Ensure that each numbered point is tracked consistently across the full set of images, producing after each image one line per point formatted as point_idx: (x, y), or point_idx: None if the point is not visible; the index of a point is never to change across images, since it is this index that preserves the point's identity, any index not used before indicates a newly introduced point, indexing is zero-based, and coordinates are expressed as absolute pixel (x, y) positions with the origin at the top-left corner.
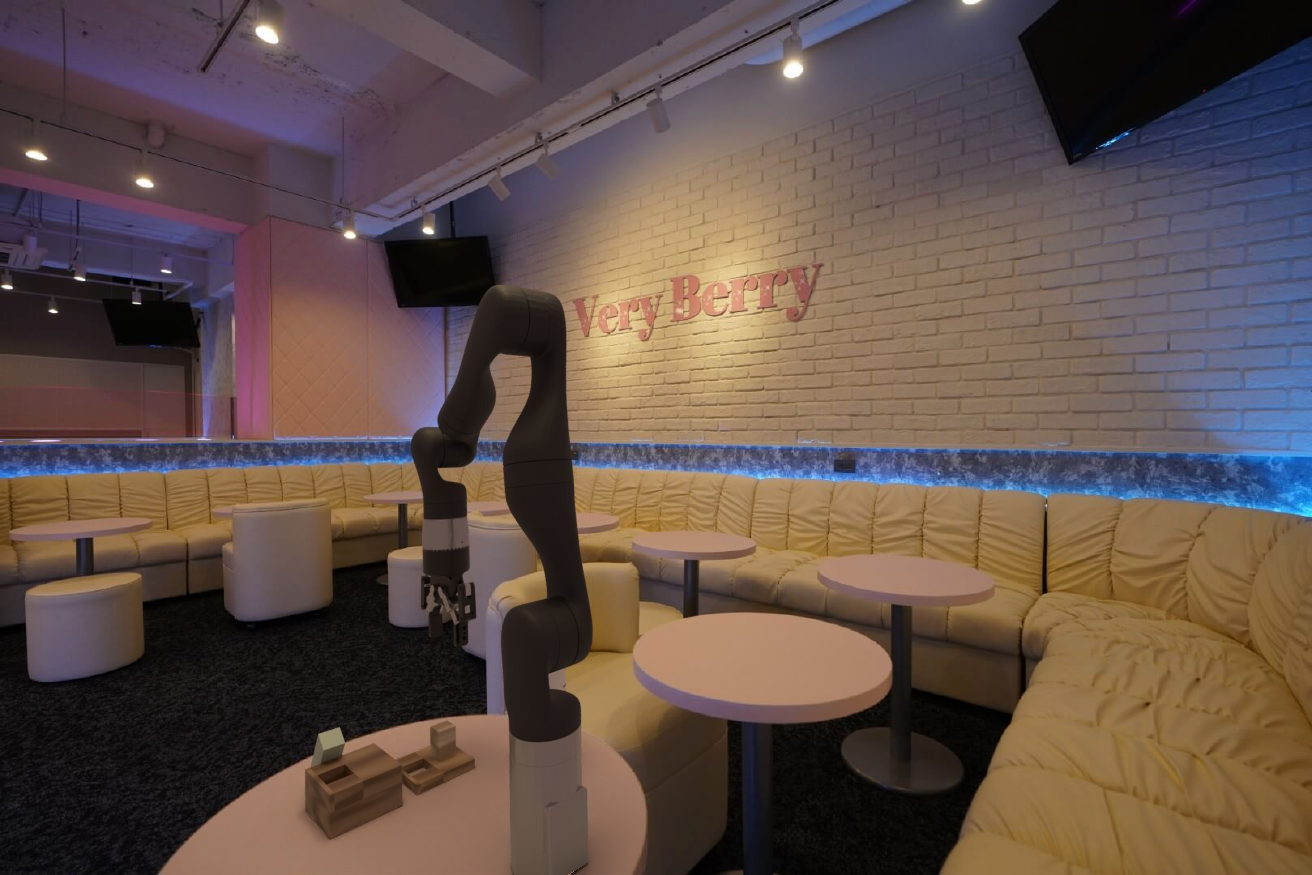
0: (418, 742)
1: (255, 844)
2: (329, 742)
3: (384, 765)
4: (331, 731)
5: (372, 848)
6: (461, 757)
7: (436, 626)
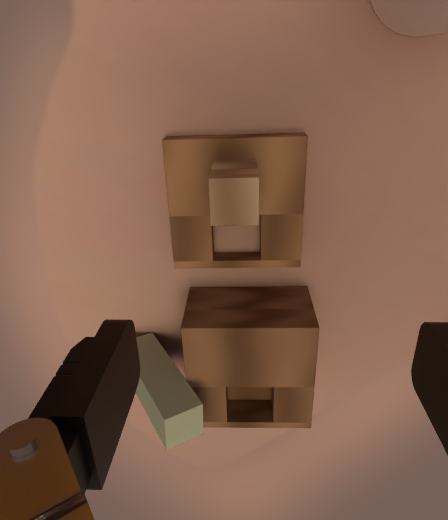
0: (94, 167)
1: (232, 429)
2: (191, 428)
3: (291, 347)
4: (169, 431)
5: (372, 351)
6: (276, 156)
7: (121, 389)
